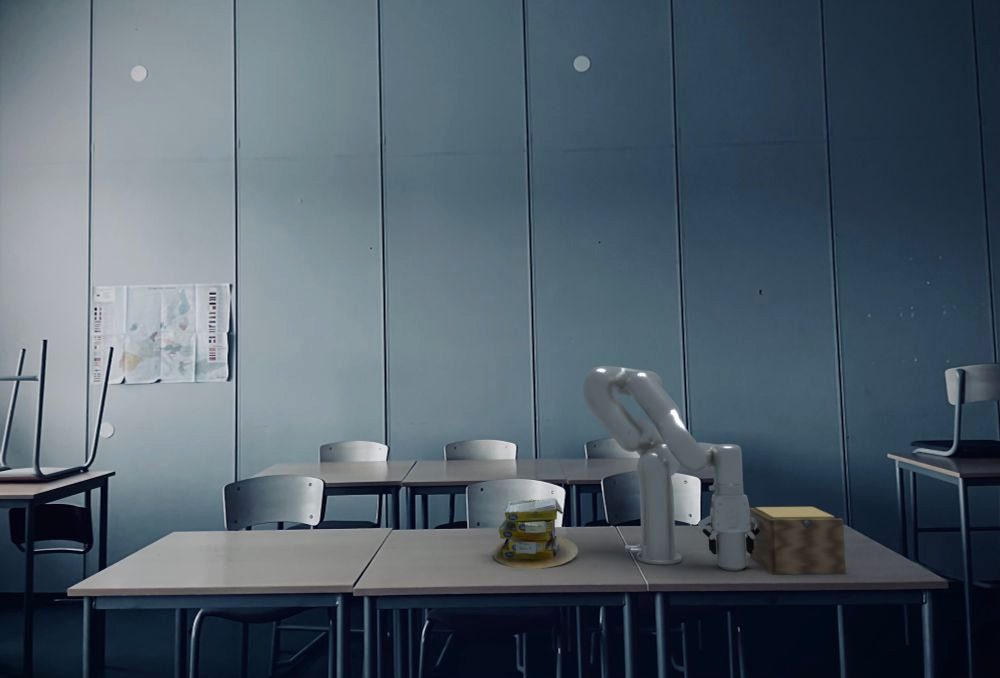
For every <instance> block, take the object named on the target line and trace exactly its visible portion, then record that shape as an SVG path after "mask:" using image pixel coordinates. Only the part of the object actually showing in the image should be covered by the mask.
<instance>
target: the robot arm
mask: <svg viewBox="0 0 1000 678" xmlns="http://www.w3.org/2000/svg"><path fill="white" fill-rule="evenodd" d="M663 384H664V383H663V380H662V378H661V377H660V375H659V374H657V372H654V371H652V370H643V369H635V368H630V367H629V368H628V367H621V366H613V365H610V366H608V365H600V366H599V365H598V366H596V367H594V368H592V369H590V370H589V372H588V373H587V374H586V376H585V378H584V381H583V386H582V392H583V393H582V394H583V395H582V396H583V398H584V401H585V404H586V406H587V407H588V409H589V410H590V411H591V413H592V414H593V415H594V417H596V418H597V420H599V422H600V424H601V425H602V426H603V427H604V428H605V430H606V431H607V432H608V433H609V435H611V437H612V438H613V440H615V442H616V443H617V444H618V445H619V447H620V448H621V449H622V450H624V451H625V452H628V453H635V452H636V453H637V454H638V456H639V457H638V459H637V465H636V470H637V471H636V473H637V480H638V486H639V487H638V489H639V504H640V505H639V506H640V510H639V511H640V536H641V537H640V538H641V540H639V542H638V543H636V544H634V545H633V544H625V546H624V549H625V553H627V552H629V553H631V554H636V555H635V557H636V559H637V560H638V561H639V562H641V563H645V564H650V565H659V566H660V565H663V566H664V565H673V564H674V565H675V564H677V563H680V562H681V561H682V555H681V554H680V553H678V552H676V551H677V550H676V523H675V522H676V521H675V519H676V518H675V498H674V497H675V496H674V487H673V481H672V480H673V479H672V477H673V476H674V475H675V474H676V473H677V472H678V471H679V469H680V467H681V466H682V467H683V468H684V469H685V470H687V471H688V472H692V473H700V472H703V471H705V470H708V469H713V480H714V481H713V484H712V485H709V486H708V489H709V491H710V492H711V491H712V492H714V493H713V494H712V495H711V500H710V501H711V502H710V513H709V515H708V516H707V517H704V518H703V519H701V520H699V521H698V522H697V524H698V527H699V528H700V531H701V532H702V533H703V534H704V535H705V536H706V537H707V538H708V549H709V551H710V553H712V554H713V555H714V556H717V543H716V539H715V538H716V535H717V534H718V533H724V532H725V531H726V530H728V529H730V527H729V526H738V527H736V529H739V530H741V531H743V533H745V535H746V536H745V547H746V553H748V554H749V555H750V554H753V552H752V550H754V539H755V536H756V535H757V534H758V533H759V532H760V529H761V527H762V521H760V520H758V519H756V518H754V517H752V516H751V515H750V508H751V507H750V504H749V499H748V495H747V494H744V477H743V476H744V475H743V473H744V472H743V455H742V452H743V451H742V448H741V446H739V445H738V444H734V443H733V444H732V443H721V444H720V443H719V444H717V443H716V444H715V443H709V442H704V441H703V442H697V440H696V439H695V438H694V437H693V435H691V433H690V432H689V430H688V429H687V428H686V426H685V424H684V421H683V420H682V412H681V410H680V407H679V406H678V405H677V404H676V403H675V401H674V400H673V398H671V396H670V395H669V394H668V393H667V392H666V390H665V389H664V388H663ZM614 394H615V395H616V394H617V395H621V396H622V395H623V396H630V397H632V399H633V400H634V401H635V402H636V404H637V405H638V406H639V408H641V410H642V411H643V412H644V413H645V415H646V416H647V418H649V420H650V421H651V422H650V421H648V420H647V419H644V418H635V417H634V415H632V414H631V412H630V411H628V409H627V408H626V407H625V406H624V404H622V403H621V401H619V400H618V399H617V398H616V397H615V396H614ZM653 424H654V425H653ZM751 522H753V523H755V524H756V525H755V528H754V529H753V530H752V531H751V529H752V525H751ZM709 523H710V528H711V529H710V530H708V529H707V527H706V525H707V524H709Z"/></svg>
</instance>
